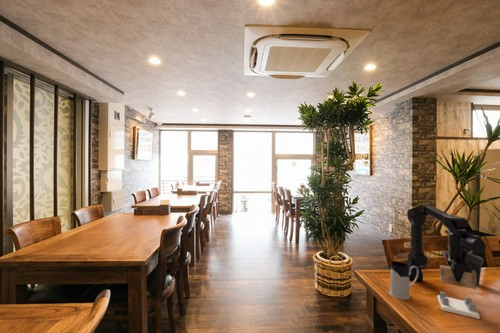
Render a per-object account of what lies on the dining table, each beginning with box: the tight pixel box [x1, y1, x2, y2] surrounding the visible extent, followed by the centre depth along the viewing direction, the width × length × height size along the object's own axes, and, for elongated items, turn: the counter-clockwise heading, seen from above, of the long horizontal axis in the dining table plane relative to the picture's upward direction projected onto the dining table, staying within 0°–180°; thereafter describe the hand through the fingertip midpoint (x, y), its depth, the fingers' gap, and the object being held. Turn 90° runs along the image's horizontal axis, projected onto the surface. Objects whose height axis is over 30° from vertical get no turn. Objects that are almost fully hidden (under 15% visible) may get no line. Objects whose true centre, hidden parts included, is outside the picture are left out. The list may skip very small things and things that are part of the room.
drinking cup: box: [464, 261, 482, 286], centre depth 127 cm, size 8×8×20 cm
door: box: [439, 264, 477, 290], centre depth 105 cm, size 12×3×7 cm, turn 60°
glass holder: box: [388, 260, 419, 301], centre depth 116 cm, size 9×14×15 cm, turn 95°
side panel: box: [437, 291, 480, 320], centre depth 105 cm, size 12×11×4 cm
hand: (457, 280), depth 105 cm, fingers closed on door, 3 cm apart
